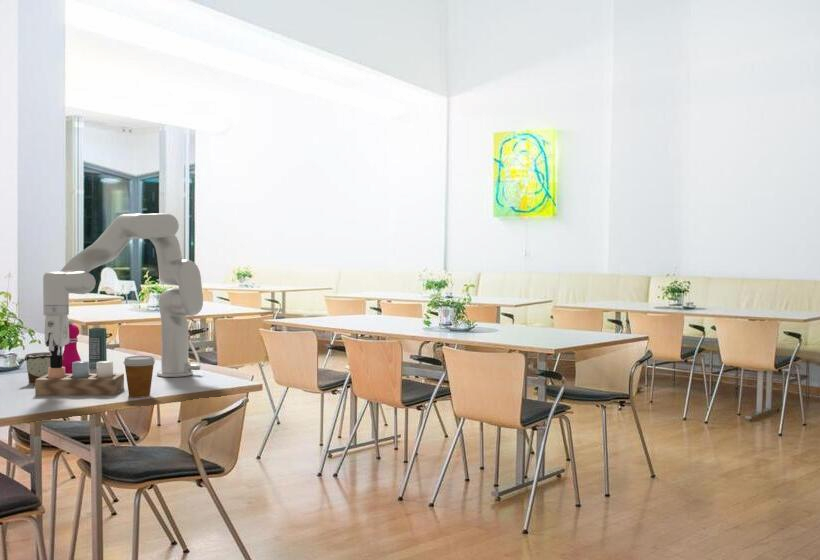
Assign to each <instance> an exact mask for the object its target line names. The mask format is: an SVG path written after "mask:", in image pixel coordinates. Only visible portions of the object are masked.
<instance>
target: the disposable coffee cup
mask: <svg viewBox="0 0 820 560" xmlns="http://www.w3.org/2000/svg"><path fill="white" fill-rule="evenodd" d="M155 362H156V360H155V357H154V356H152V355H134V356H127V357H124V361H123V362H122V363H123V365H124V367H125V368H124V369H125V377H126V384H127V392H128V396H129V397H131V398H144V397H146V398H147V397H149V396H151V388H152V382H153V372H154V365H155Z"/></svg>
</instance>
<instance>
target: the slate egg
mask: <svg viewBox="0 0 820 560" xmlns="http://www.w3.org/2000/svg"><path fill="white" fill-rule="evenodd" d="M89 374H90V368H89V360H88V361H87V360H81V361H76V362H72V378H88V377H89Z"/></svg>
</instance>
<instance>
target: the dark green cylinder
mask: <svg viewBox="0 0 820 560" xmlns="http://www.w3.org/2000/svg"><path fill="white" fill-rule="evenodd" d="M107 354H108V353H107V328H106V327H92V328H88V362H89V369H96V362H100V361H108V360H107Z"/></svg>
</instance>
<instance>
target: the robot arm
mask: <svg viewBox="0 0 820 560" xmlns="http://www.w3.org/2000/svg"><path fill="white" fill-rule="evenodd" d="M179 226H180V225H179V221H178V219H177V217H176V216H174V215H172V214H171V213H124V214H121V215H118V216H116V217H115V219H113V220H112V222H111V223H110V224H109V225H108V226H107V227H106V229H105V230H103V232H102V233H101V234H100V236H99V237H97V239H96V240H95V241H94V242H93V243H92V244H91V245H88V246H87V247H86V248H84V249H83V250H81V251H80V252H79V253H78V254H75V255H74V256H73V257H72V258H70V259H69V261H68V262H67V263H65V265H64V266H63V268H62V269H60V271H47V272H44V273H43V277H42V293H43V294H42V299H43V300H42V305H43V306H42V307H43V308H42V309H43V313H42V314H43V316H45V319H44V320H45V321H44V344H45V347H48V352H50V367H51V368H61V367H62V355H63V352H64V345H67V344H68V343H69V323H68V321H69V315H70V314H69V312H70V305H69V304H70V302H69V301H70V297H69V296H70V294H74V295H87V294H90V293H91V292H92V291H93V290H94V289H95V287H96V285H97V283H96V278H95V276H94V275H93V274H91V273H90V272H91V271H92V270H94V269H96V268H98V267H101V266H104V265H107V264H108V263H110V262H112V261H115V259H116V258H118V256H119V255H120V254H121V252H122V251H123V250H124V249H125V247H126V246H127V245H128V244H129V243H130V241H132V240H133V239H135V240H136V239H137V240H141V239H142V240H143V239H144V240H145V239H146V240H150V242H151V243H152V245H154V246H153V247H154V248H155V252H156V258H157V267H158V274H159V275H158V276H159V279H160V281H161V282H162V283H163V284H164V285H168V286H177V287H178V288H176V287H175V288H168V289H165V290H164V291H163V292H162V293H160V295H159V297H158V309H159V315H160V321H161V322H160V323H161V325H160V326H161V331H160V332H161V333H160V335H161V336H160V337H161V339H160V340H161V341H160V343H161V348H160V349H161V353H160V354H161V361H160V363H161V365H160V366H161V370H159V371H157V372H156V375H157V377H161V378H181V377H188V376H191V375H193V373H194V372H193V371H201V364H192V363H191V361H189V324H188V323H189V322H188V319H187V316H188V317H192V316H193V317H194V316H196V315H198V314H199V313H200V312H201V310H203V307H204V306H203V305H204V295H203V285H202V278H201V277H202V276H201V272H200V268H199V267H198V265H197V263H195V262H194V261H192V260H190V259H183V256H182V250H181V246H180V242H179V240H178V237H177V235H176V234H177V233H178V231H179V228H180V227H179Z"/></svg>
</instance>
